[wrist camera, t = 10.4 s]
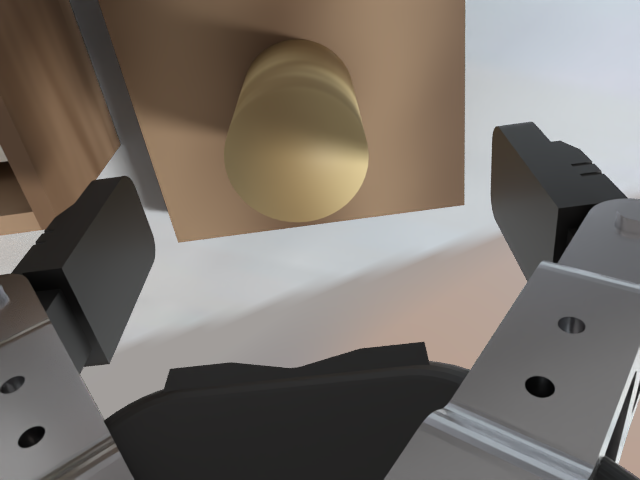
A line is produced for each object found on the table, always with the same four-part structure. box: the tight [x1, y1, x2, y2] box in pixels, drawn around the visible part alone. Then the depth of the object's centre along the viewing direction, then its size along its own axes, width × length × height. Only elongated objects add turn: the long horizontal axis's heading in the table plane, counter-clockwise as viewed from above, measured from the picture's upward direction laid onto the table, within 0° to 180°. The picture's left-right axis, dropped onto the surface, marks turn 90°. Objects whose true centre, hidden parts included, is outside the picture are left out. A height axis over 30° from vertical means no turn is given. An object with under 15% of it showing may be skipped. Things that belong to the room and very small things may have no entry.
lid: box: [98, 0, 465, 242], centre depth 17 cm, size 11×10×7 cm
